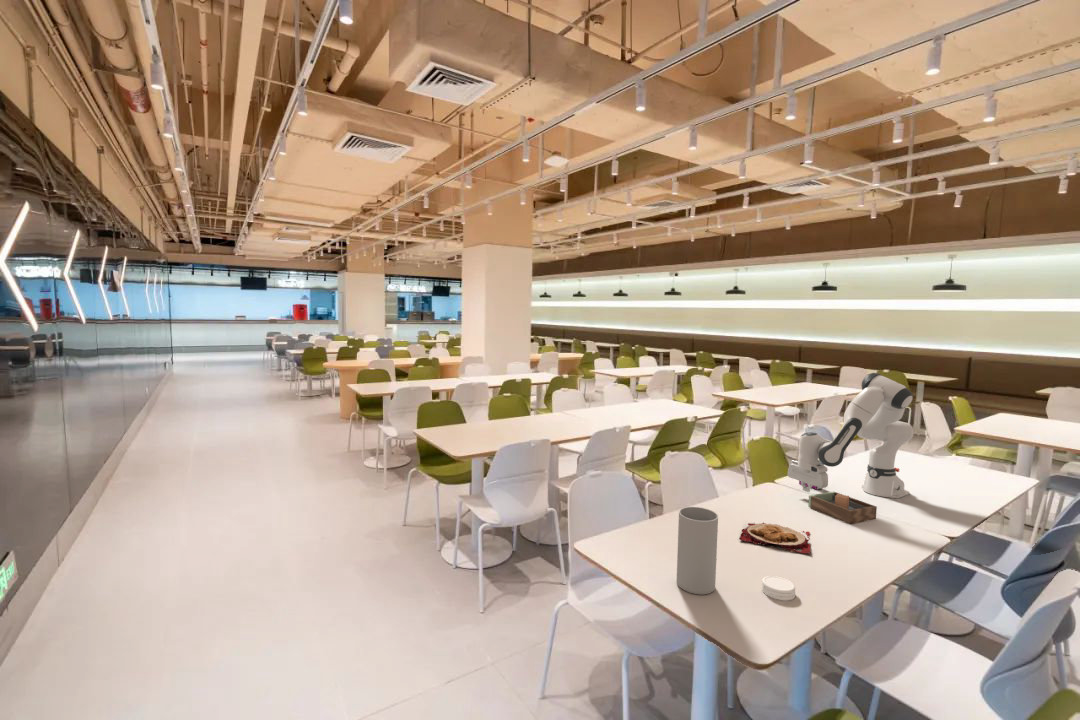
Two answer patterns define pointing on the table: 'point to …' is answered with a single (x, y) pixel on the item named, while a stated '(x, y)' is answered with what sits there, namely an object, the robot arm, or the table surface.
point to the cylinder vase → (697, 550)
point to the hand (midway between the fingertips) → (806, 491)
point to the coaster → (778, 588)
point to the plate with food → (776, 537)
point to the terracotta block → (842, 500)
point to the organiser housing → (845, 510)
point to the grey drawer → (833, 500)
